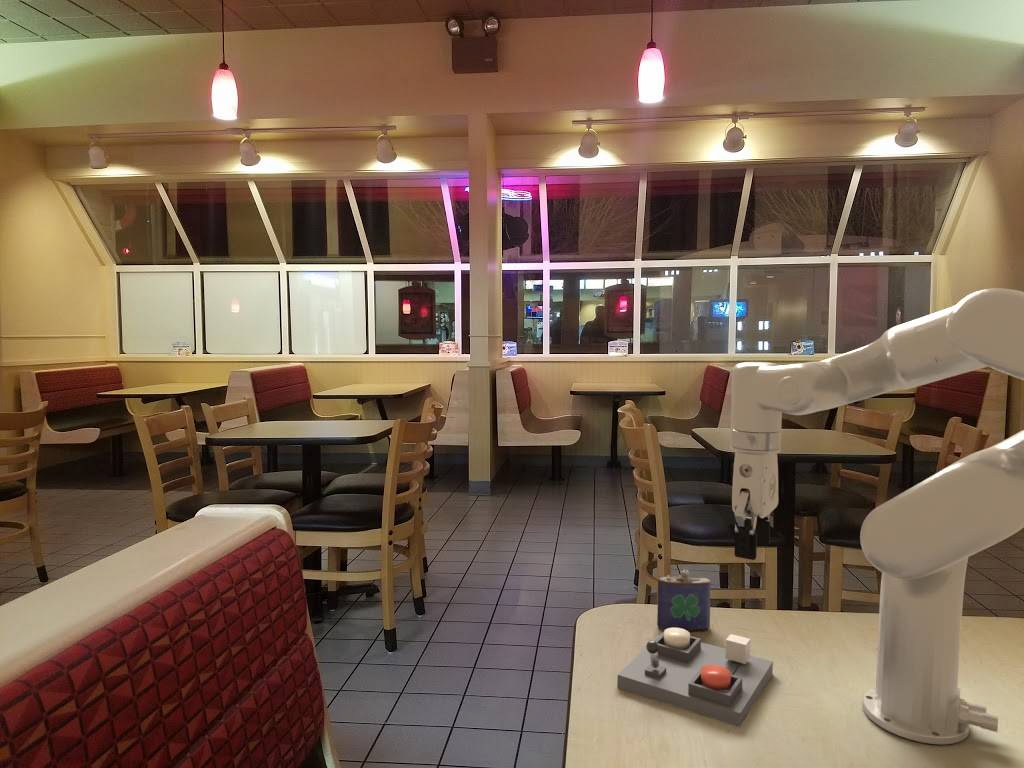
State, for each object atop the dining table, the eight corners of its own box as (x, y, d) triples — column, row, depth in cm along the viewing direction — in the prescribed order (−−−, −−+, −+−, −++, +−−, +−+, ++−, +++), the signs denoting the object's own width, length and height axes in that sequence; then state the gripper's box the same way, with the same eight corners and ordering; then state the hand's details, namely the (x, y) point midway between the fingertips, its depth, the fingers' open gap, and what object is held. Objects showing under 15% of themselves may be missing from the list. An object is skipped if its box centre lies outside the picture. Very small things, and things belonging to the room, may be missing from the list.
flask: (708, 625, 124) (709, 567, 122) (712, 633, 121) (713, 573, 120) (655, 625, 124) (656, 566, 123) (658, 632, 121) (659, 572, 120)
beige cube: (749, 657, 107) (750, 638, 106) (745, 664, 105) (745, 644, 104) (730, 652, 108) (730, 633, 108) (725, 658, 106) (726, 639, 106)
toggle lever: (663, 664, 103) (659, 639, 101) (659, 672, 102) (655, 648, 100) (652, 660, 104) (648, 636, 102) (647, 669, 103) (643, 645, 101)
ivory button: (693, 641, 110) (693, 631, 110) (684, 651, 107) (684, 641, 107) (669, 634, 113) (669, 625, 112) (659, 644, 109) (660, 634, 109)
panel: (772, 673, 107) (773, 651, 106) (739, 727, 93) (740, 701, 92) (661, 643, 117) (662, 622, 116) (617, 687, 103) (617, 664, 102)
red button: (734, 680, 98) (734, 669, 98) (725, 693, 95) (725, 682, 95) (706, 672, 100) (706, 662, 100) (696, 684, 97) (697, 673, 97)
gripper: (765, 452, 99) (761, 572, 101) (793, 435, 114) (789, 540, 115) (713, 446, 104) (711, 562, 105) (746, 431, 118) (744, 533, 120)
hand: (752, 550), depth 110 cm, fingers open, 7 cm apart
